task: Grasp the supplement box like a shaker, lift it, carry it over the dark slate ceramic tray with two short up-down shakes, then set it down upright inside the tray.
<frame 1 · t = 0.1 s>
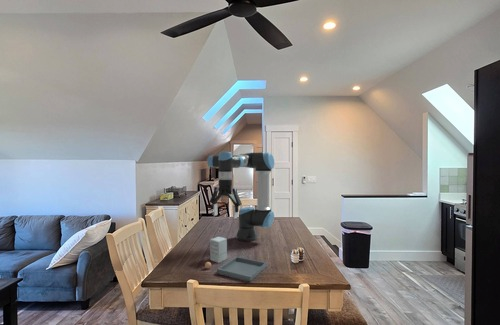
hand: (225, 216, 150), 28 cm above the table, fingers open, 13 cm apart
supplement box: (218, 260, 159), on the table
mixing ball: (208, 268, 146), on the table
tray: (242, 270, 144), on the table
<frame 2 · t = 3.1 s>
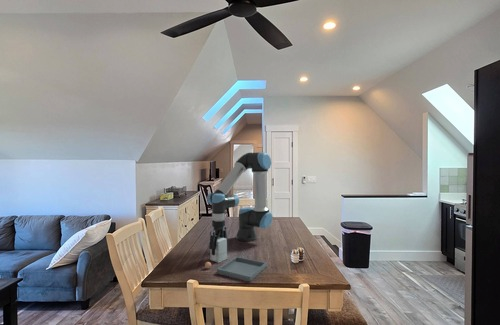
hand: (218, 257, 159), 1 cm above the table, fingers closed on supplement box, 8 cm apart
supplement box: (218, 260, 159), on the table, touching gripper
everything else where it was.
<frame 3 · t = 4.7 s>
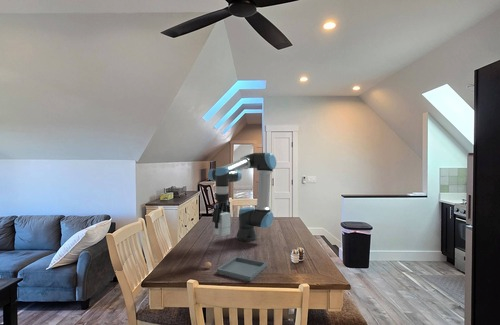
hand: (221, 231, 156), 17 cm above the table, fingers closed on supplement box, 8 cm apart
supplement box: (221, 234, 156), point 16 cm above the table, touching gripper
everything else where it was.
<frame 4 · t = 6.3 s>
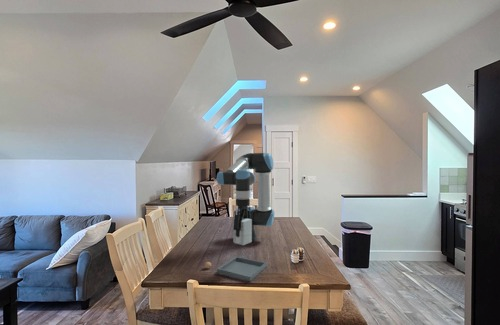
hand: (242, 240, 143), 17 cm above the table, fingers closed on supplement box, 8 cm apart
supplement box: (242, 242, 143), point 15 cm above the table, touching gripper
everything else where it was.
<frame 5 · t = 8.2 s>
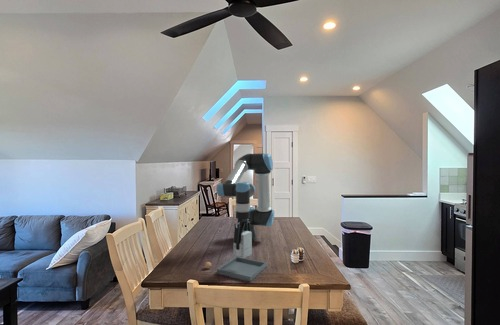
hand: (242, 252, 144), 10 cm above the table, fingers closed on supplement box, 8 cm apart
supplement box: (242, 255, 144), point 8 cm above the table, touching gripper
everything else where it was.
when the fingers open (3 cm above the table, at t = 9.7 s): supplement box drops 1 cm, resting on tray.
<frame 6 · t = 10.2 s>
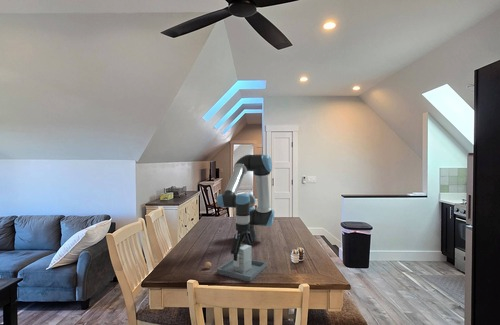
hand: (242, 261, 144), 5 cm above the table, fingers open, 13 cm apart
supplement box: (242, 269, 144), resting on tray
everything else where it was.
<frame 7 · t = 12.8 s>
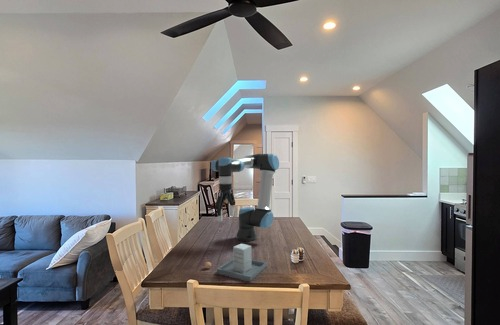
hand: (225, 218, 159), 25 cm above the table, fingers open, 13 cm apart
nothing on the table moved.
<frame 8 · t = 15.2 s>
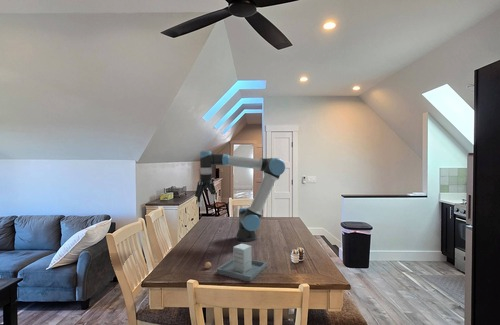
hand: (205, 205, 180), 29 cm above the table, fingers open, 13 cm apart
nothing on the table moved.
at the end: supplement box inside the target area on the tray (0.2 cm from its centre), point 0.4 cm above the tray's base; supplement box tilted 0°; the gripper is holding nothing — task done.
